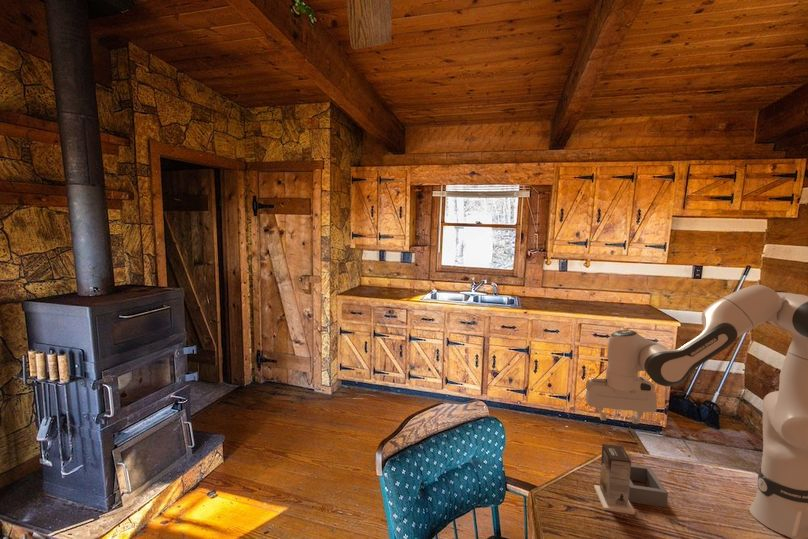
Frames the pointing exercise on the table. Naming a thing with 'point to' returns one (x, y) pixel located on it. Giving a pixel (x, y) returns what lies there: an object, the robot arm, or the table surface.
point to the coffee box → (615, 475)
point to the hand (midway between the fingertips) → (618, 421)
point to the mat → (612, 508)
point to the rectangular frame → (646, 494)
